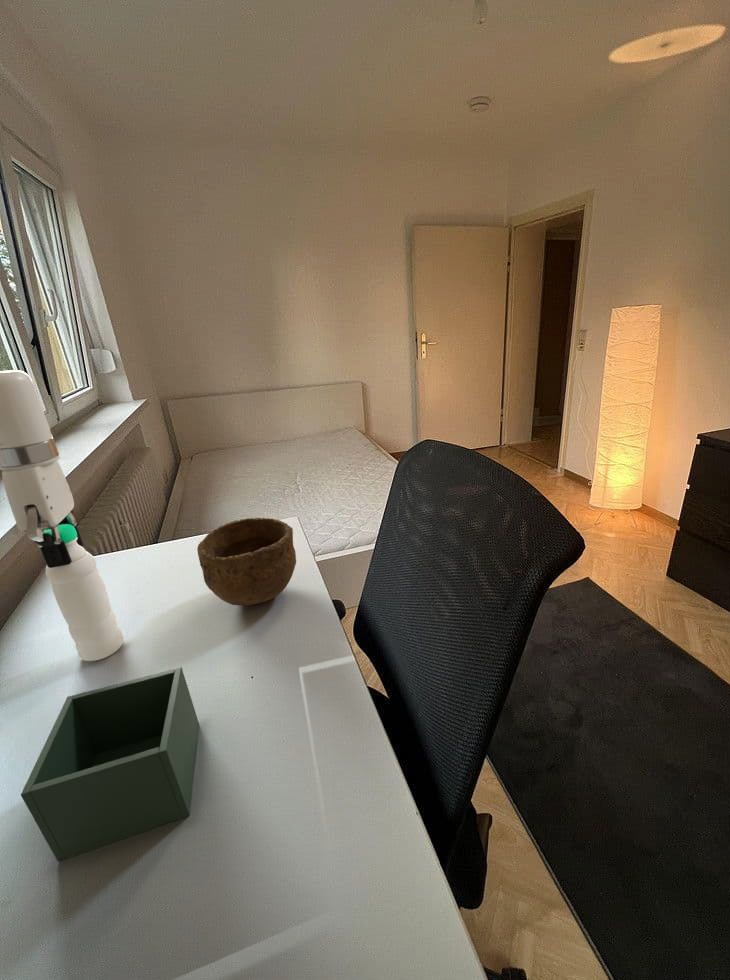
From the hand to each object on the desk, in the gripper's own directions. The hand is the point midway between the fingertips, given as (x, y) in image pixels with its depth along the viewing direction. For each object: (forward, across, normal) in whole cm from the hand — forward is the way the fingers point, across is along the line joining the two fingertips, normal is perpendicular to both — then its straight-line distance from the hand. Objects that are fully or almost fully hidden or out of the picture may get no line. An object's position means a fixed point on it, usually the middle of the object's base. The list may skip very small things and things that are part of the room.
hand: (66, 555), depth 75 cm
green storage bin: (+20, +32, +12) cm, 40 cm away
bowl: (+20, -6, +28) cm, 35 cm away
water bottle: (+20, 0, 0) cm, 20 cm away
